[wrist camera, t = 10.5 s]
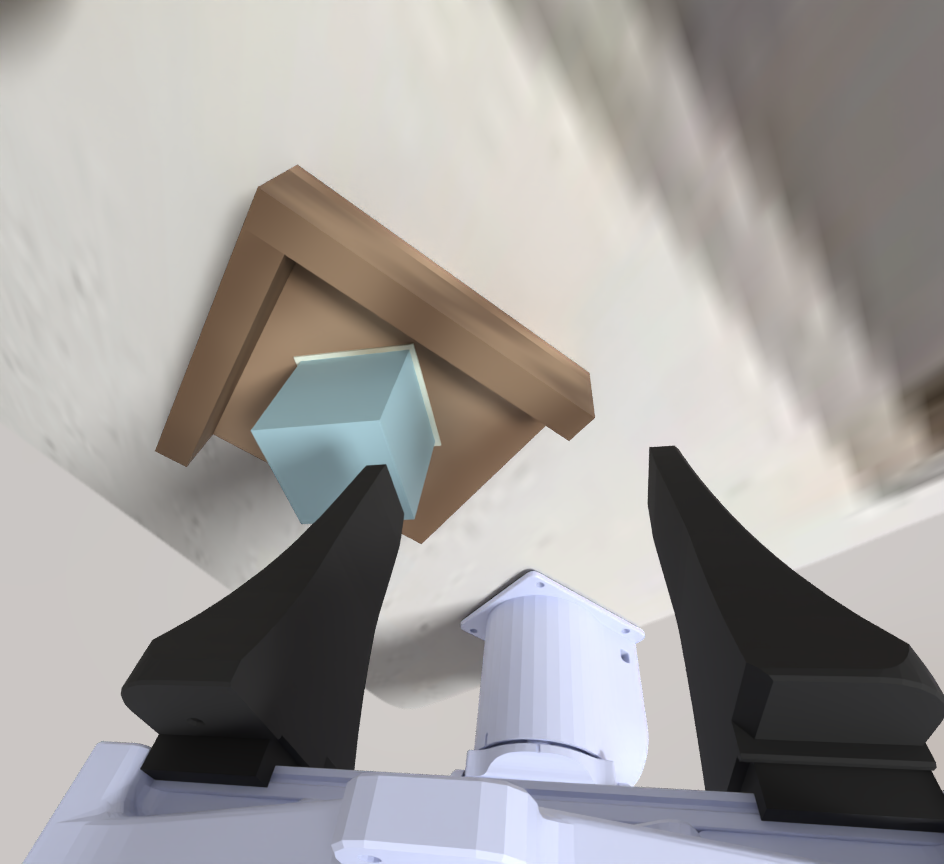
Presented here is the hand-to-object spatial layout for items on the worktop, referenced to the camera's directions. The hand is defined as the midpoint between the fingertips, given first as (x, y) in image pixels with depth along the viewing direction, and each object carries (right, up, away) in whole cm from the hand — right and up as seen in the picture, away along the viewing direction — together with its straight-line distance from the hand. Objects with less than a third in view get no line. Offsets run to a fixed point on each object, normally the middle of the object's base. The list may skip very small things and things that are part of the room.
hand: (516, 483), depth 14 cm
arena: (-6, +3, +10) cm, 12 cm away
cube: (-6, +3, +10) cm, 12 cm away
